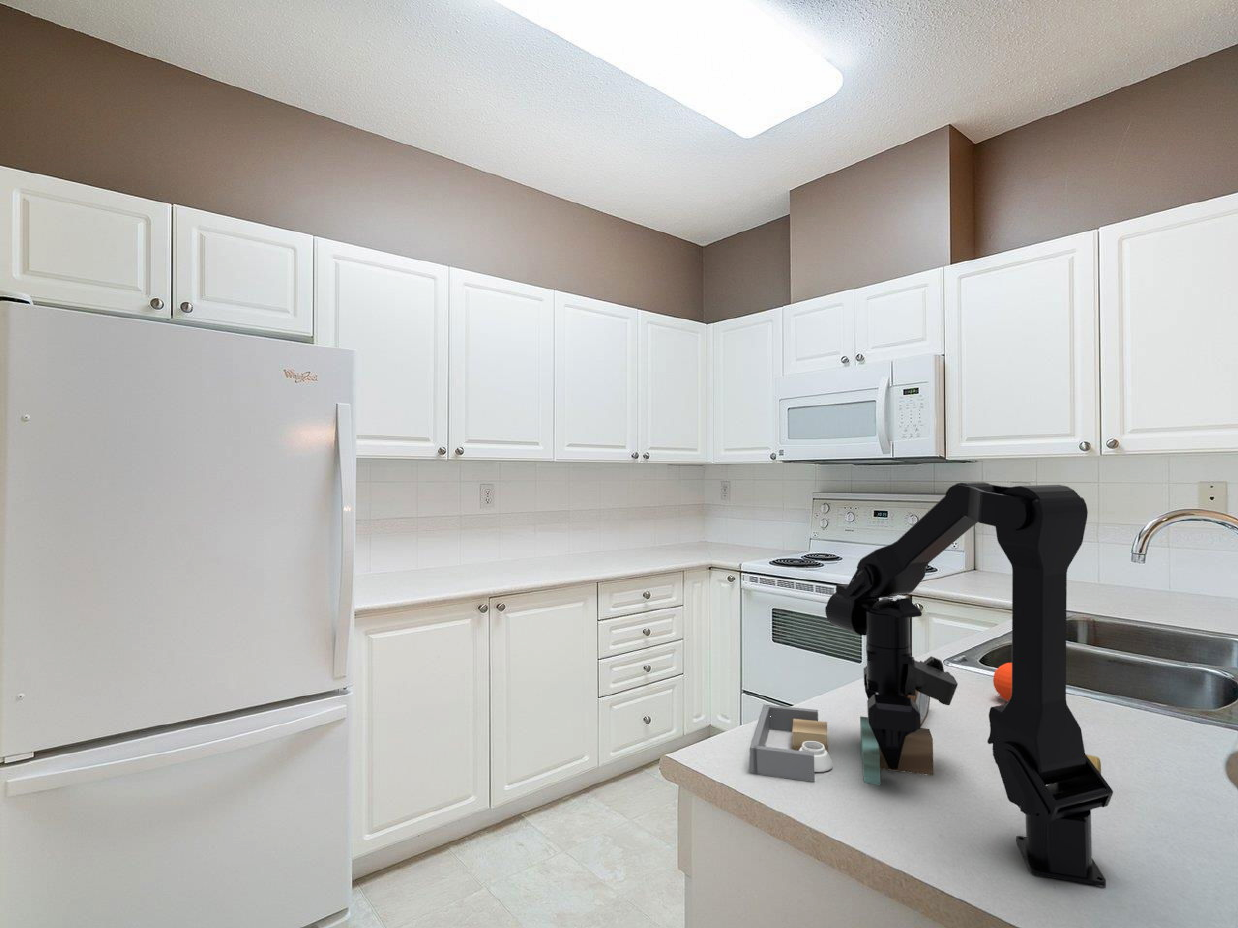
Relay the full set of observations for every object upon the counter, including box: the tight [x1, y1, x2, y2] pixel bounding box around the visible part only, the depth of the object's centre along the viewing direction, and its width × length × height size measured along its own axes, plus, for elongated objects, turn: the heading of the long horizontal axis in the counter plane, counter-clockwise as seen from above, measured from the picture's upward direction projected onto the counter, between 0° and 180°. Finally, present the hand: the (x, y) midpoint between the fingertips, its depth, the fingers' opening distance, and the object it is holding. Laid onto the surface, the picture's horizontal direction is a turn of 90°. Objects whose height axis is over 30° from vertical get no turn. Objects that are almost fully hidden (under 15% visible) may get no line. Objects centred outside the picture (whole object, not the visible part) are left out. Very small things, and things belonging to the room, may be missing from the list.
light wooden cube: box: [791, 719, 829, 753], centre depth 96 cm, size 5×5×3 cm
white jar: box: [799, 741, 833, 773], centre depth 90 cm, size 5×3×5 cm
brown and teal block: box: [859, 716, 935, 785], centre depth 89 cm, size 13×9×5 cm
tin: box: [908, 691, 931, 726], centre depth 104 cm, size 15×3×8 cm, turn 145°
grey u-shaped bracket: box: [749, 704, 819, 783], centre depth 94 cm, size 17×8×4 cm, turn 161°
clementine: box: [992, 662, 1012, 702], centre depth 111 cm, size 8×7×7 cm
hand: (890, 754), depth 90 cm, fingers open, 9 cm apart
